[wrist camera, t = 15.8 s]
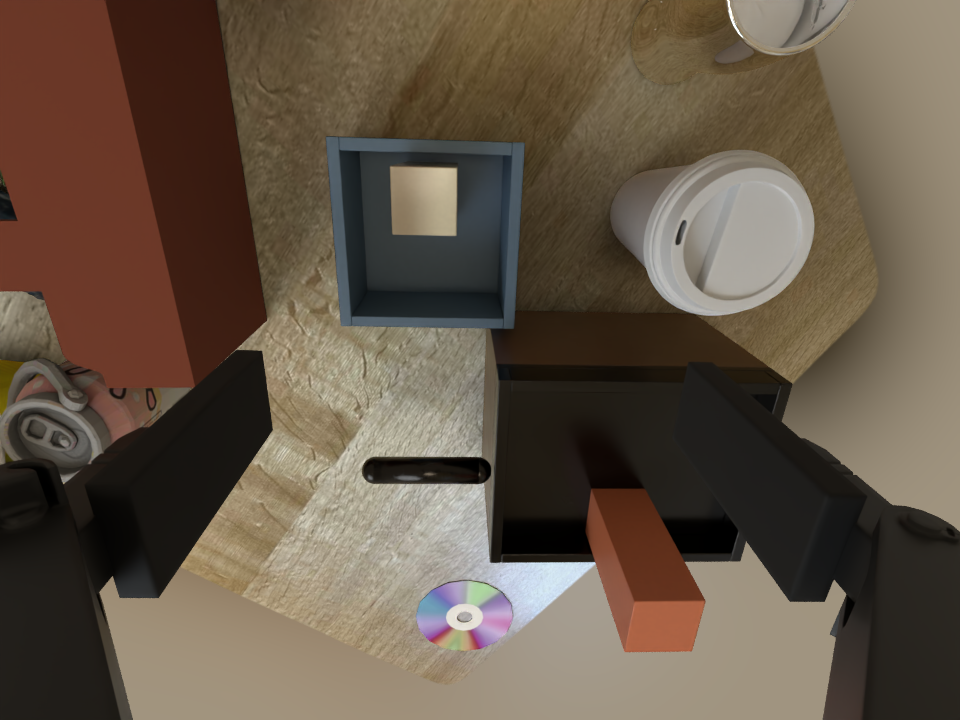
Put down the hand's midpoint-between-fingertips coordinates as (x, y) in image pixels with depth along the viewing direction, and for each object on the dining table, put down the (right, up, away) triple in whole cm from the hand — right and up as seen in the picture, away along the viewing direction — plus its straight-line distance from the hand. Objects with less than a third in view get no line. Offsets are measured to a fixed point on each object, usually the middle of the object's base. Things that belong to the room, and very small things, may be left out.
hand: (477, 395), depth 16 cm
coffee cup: (+14, +13, +26) cm, 32 cm away
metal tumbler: (+14, +25, +21) cm, 36 cm away
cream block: (-4, +15, +24) cm, 28 cm away
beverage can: (-30, +1, +30) cm, 42 cm away
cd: (-2, -29, +43) cm, 51 cm away
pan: (+5, -1, +32) cm, 32 cm away
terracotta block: (+10, -10, +22) cm, 26 cm away
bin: (-4, +12, +26) cm, 29 cm away
